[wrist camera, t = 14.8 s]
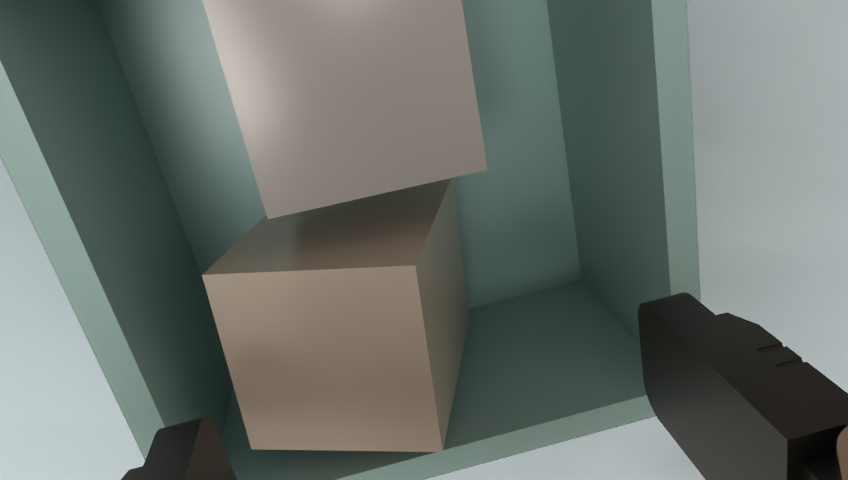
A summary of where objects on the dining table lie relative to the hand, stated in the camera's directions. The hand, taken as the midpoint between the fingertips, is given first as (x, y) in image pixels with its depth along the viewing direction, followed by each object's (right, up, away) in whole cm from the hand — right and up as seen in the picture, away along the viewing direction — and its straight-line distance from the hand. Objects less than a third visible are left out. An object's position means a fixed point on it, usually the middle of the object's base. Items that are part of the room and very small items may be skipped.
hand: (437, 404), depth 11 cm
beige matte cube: (-1, +2, +6) cm, 7 cm away
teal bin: (-2, +5, +6) cm, 8 cm away
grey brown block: (-2, +7, +5) cm, 9 cm away
